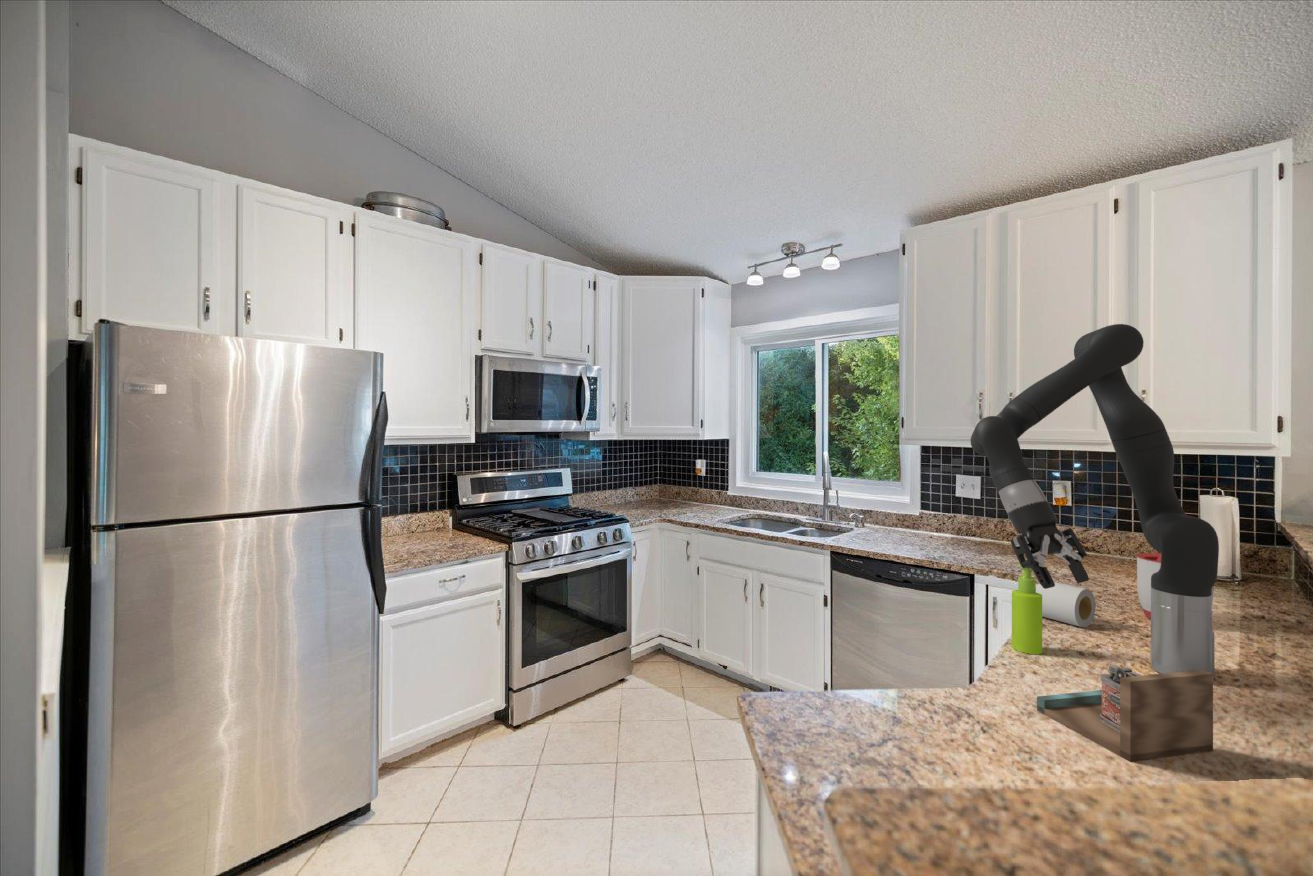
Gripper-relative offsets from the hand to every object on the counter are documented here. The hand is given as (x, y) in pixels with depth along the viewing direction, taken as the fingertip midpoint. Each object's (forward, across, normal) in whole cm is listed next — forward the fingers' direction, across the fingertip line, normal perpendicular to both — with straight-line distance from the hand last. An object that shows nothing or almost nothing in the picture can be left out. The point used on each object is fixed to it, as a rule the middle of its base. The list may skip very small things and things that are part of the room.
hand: (1066, 584), depth 106 cm
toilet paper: (+6, +39, +40) cm, 57 cm away
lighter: (+24, -8, -4) cm, 26 cm away
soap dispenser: (+10, +11, +27) cm, 31 cm away
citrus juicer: (+11, +69, +34) cm, 78 cm away
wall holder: (+24, -7, -2) cm, 25 cm away
